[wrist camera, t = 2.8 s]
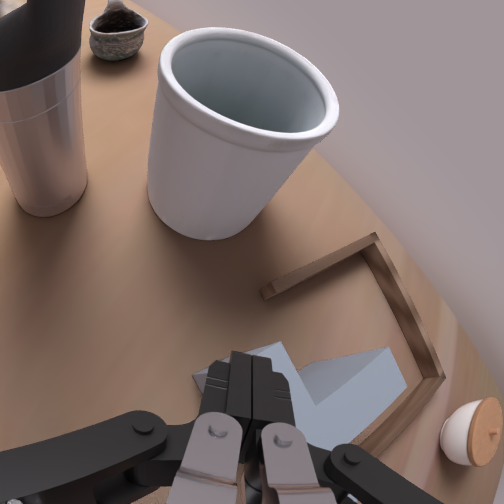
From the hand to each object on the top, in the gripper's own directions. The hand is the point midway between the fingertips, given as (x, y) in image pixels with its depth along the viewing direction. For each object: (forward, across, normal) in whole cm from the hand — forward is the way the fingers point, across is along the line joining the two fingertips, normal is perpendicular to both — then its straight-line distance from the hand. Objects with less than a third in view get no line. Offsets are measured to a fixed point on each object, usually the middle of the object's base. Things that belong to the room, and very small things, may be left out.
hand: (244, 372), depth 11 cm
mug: (+38, +30, -24) cm, 55 cm away
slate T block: (+14, -6, +14) cm, 21 cm away
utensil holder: (+27, +7, -4) cm, 28 cm away
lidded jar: (+17, -37, +21) cm, 46 cm away
